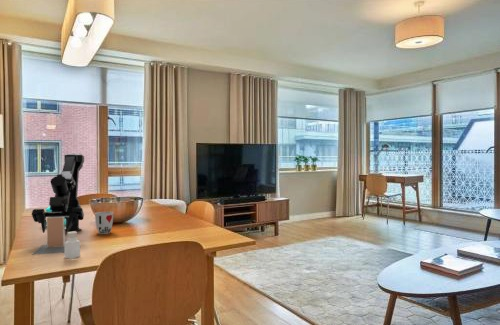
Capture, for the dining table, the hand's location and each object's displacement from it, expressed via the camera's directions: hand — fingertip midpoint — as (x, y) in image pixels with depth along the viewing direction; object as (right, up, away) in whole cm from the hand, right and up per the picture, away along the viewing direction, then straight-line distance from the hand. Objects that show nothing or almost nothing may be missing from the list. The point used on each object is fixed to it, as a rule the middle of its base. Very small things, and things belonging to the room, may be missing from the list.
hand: (55, 231), depth 142 cm
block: (0, -6, +2) cm, 6 cm away
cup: (+9, -6, +26) cm, 28 cm away
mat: (+1, -7, -2) cm, 7 cm away
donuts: (-23, -6, +44) cm, 50 cm away
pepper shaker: (+14, -7, -13) cm, 20 cm away
